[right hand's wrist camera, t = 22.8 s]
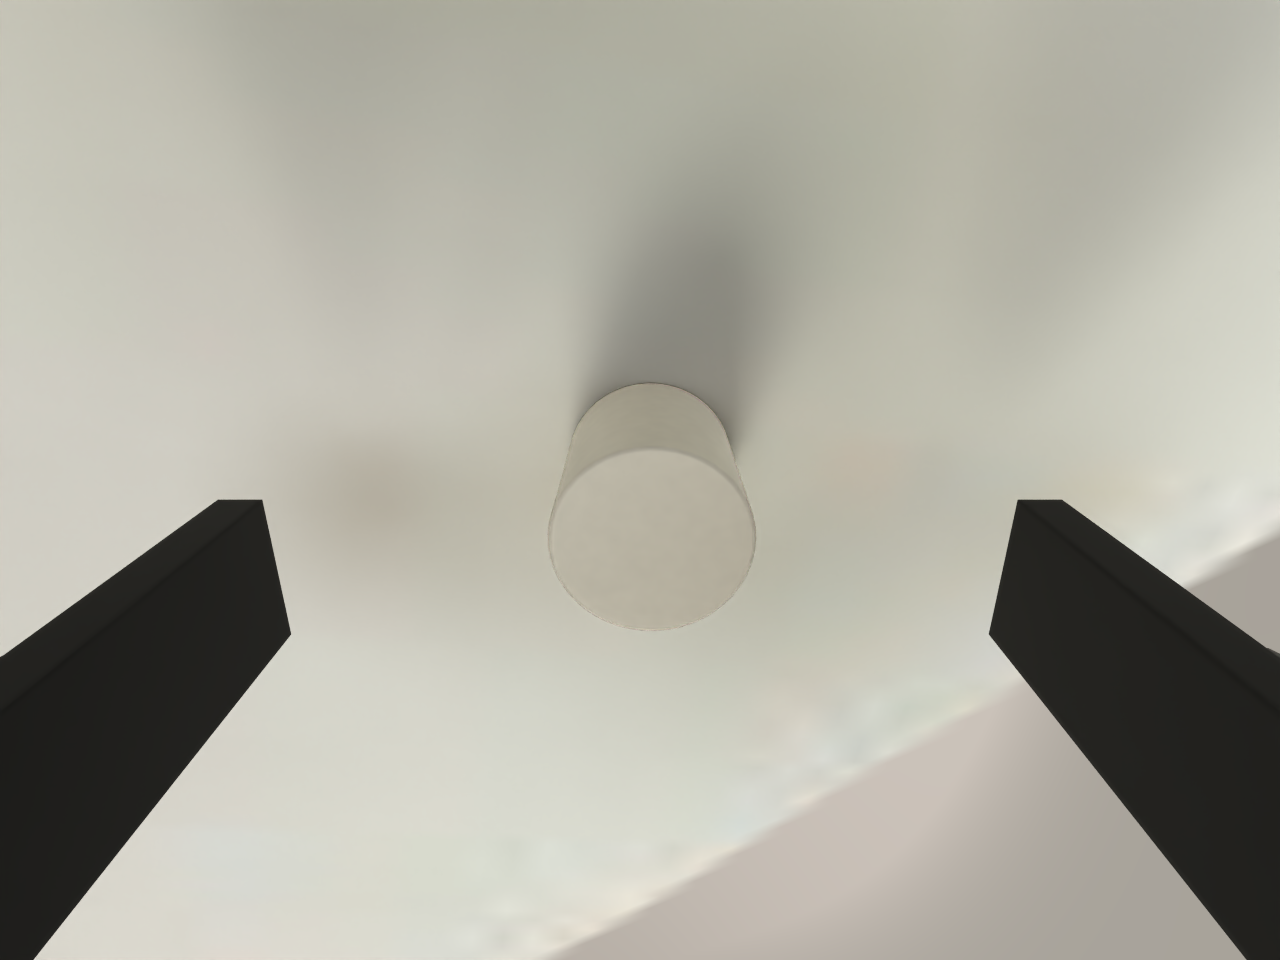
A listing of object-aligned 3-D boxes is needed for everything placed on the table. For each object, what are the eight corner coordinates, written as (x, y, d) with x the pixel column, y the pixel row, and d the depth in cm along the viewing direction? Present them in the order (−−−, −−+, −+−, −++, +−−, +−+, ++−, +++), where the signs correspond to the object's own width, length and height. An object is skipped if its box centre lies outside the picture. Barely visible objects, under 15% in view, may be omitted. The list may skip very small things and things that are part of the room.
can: (760, 428, 16) (797, 505, 12) (680, 555, 18) (691, 661, 14) (614, 352, 16) (605, 409, 12) (542, 491, 17) (513, 582, 13)
